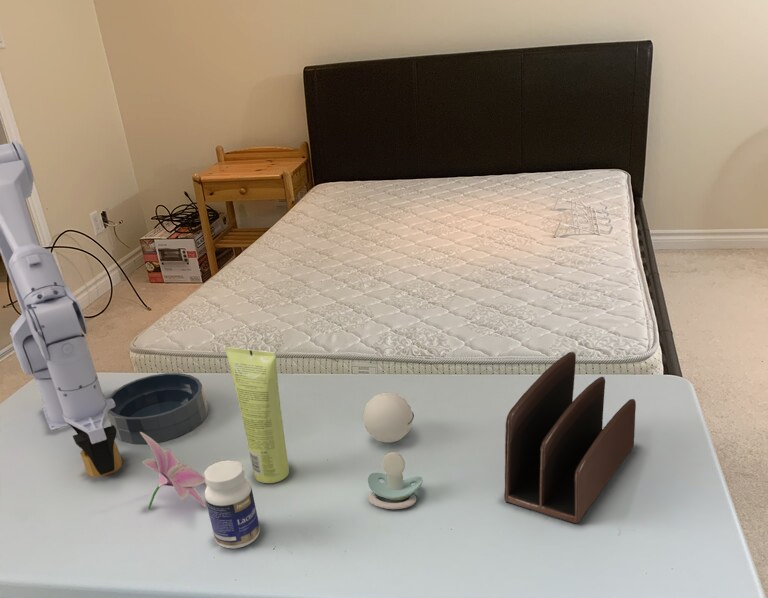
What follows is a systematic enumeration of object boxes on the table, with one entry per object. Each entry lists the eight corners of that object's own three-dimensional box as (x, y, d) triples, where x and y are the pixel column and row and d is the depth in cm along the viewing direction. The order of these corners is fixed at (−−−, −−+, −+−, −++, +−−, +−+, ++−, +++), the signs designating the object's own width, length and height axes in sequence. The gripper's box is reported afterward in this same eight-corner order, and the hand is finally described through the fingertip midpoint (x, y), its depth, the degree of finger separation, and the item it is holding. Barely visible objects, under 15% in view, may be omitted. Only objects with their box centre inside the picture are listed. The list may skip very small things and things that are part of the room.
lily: (181, 544, 97) (204, 478, 95) (97, 509, 97) (118, 443, 95) (214, 513, 109) (234, 453, 106) (138, 481, 109) (157, 421, 107)
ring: (84, 467, 114) (77, 447, 112) (118, 456, 115) (112, 436, 114) (91, 483, 110) (84, 462, 108) (126, 471, 112) (119, 450, 110)
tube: (289, 460, 110) (267, 337, 100) (297, 478, 106) (275, 351, 96) (251, 470, 109) (224, 346, 99) (258, 489, 105) (231, 361, 95)
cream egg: (409, 453, 109) (405, 409, 105) (359, 450, 111) (354, 406, 107) (423, 418, 117) (420, 376, 113) (377, 416, 119) (372, 374, 115)
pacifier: (415, 515, 97) (426, 487, 101) (410, 475, 93) (423, 448, 98) (360, 508, 99) (375, 481, 104) (355, 470, 96) (369, 443, 100)
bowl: (96, 426, 124) (88, 399, 122) (176, 390, 133) (170, 365, 131) (143, 457, 115) (134, 429, 112) (226, 416, 123) (220, 389, 121)
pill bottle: (251, 551, 93) (236, 485, 88) (208, 548, 94) (191, 483, 89) (267, 522, 98) (253, 458, 93) (225, 520, 99) (210, 456, 94)
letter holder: (503, 502, 97) (502, 406, 90) (566, 430, 111) (569, 342, 104) (577, 526, 92) (582, 426, 85) (634, 447, 105) (643, 355, 98)
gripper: (116, 391, 101) (142, 476, 108) (94, 355, 112) (118, 433, 119) (62, 408, 98) (91, 493, 105) (45, 369, 110) (72, 448, 116)
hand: (102, 463), depth 112 cm, fingers closed on ring, 5 cm apart
